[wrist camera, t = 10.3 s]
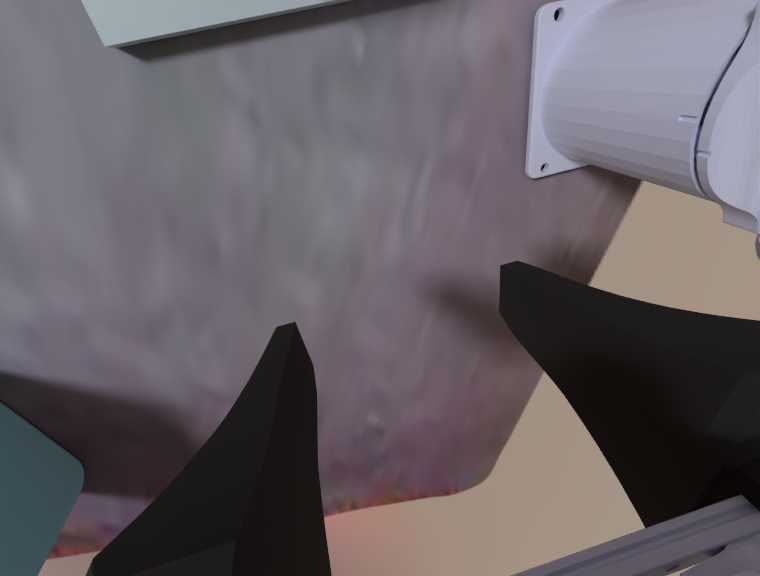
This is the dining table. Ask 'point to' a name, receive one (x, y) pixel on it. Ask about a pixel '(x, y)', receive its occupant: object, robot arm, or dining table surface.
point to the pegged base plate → (181, 16)
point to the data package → (32, 494)
